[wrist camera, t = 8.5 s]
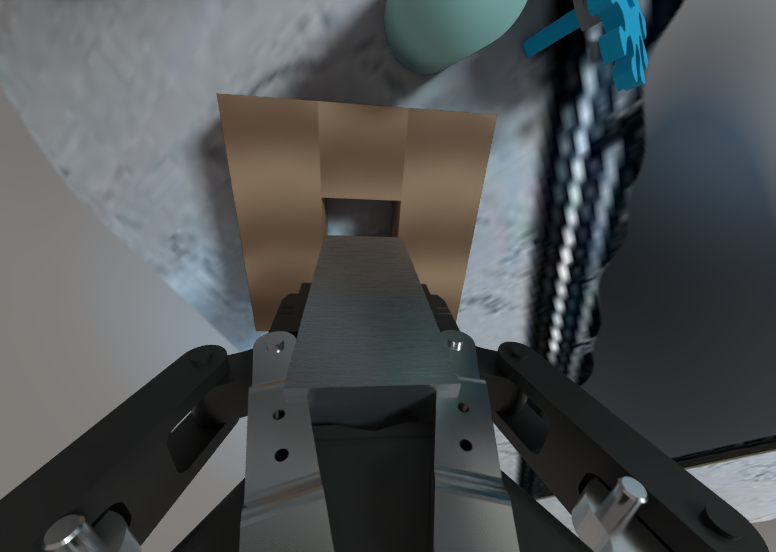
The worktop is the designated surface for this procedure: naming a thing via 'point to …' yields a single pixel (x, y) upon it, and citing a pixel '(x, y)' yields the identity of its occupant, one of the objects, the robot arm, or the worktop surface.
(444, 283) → the socket block
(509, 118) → the worktop surface
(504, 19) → the round peg
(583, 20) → the gear
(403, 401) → the square peg
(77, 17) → the worktop surface
